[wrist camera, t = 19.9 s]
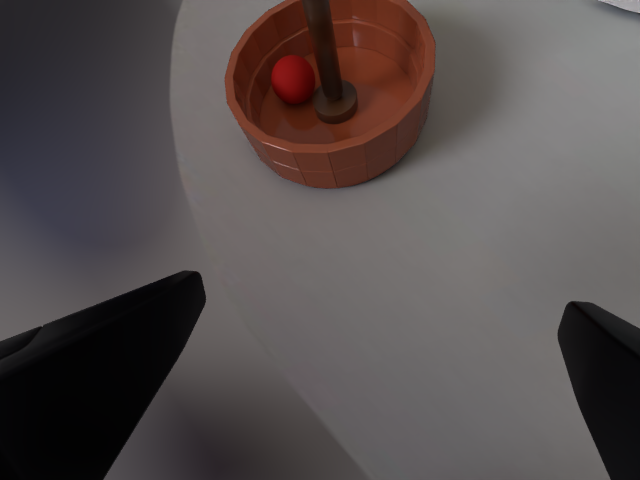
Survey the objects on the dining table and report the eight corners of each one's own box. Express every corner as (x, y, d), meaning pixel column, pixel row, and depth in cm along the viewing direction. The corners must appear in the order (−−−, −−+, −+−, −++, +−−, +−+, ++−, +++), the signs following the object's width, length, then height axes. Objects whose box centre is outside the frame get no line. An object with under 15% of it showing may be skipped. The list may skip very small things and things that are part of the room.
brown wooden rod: (365, 112, 25) (344, -140, 12) (325, 131, 25) (263, -99, 12) (346, 82, 26) (310, -175, 14) (308, 100, 26) (236, -138, 14)
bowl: (340, 228, 23) (329, 195, 18) (220, 130, 28) (186, 84, 23) (465, 95, 25) (483, 34, 20) (331, 23, 29) (321, -40, 25)
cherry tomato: (300, 114, 27) (289, 112, 24) (270, 85, 27) (255, 79, 24) (328, 80, 26) (319, 74, 23) (297, 49, 26) (284, 39, 23)
